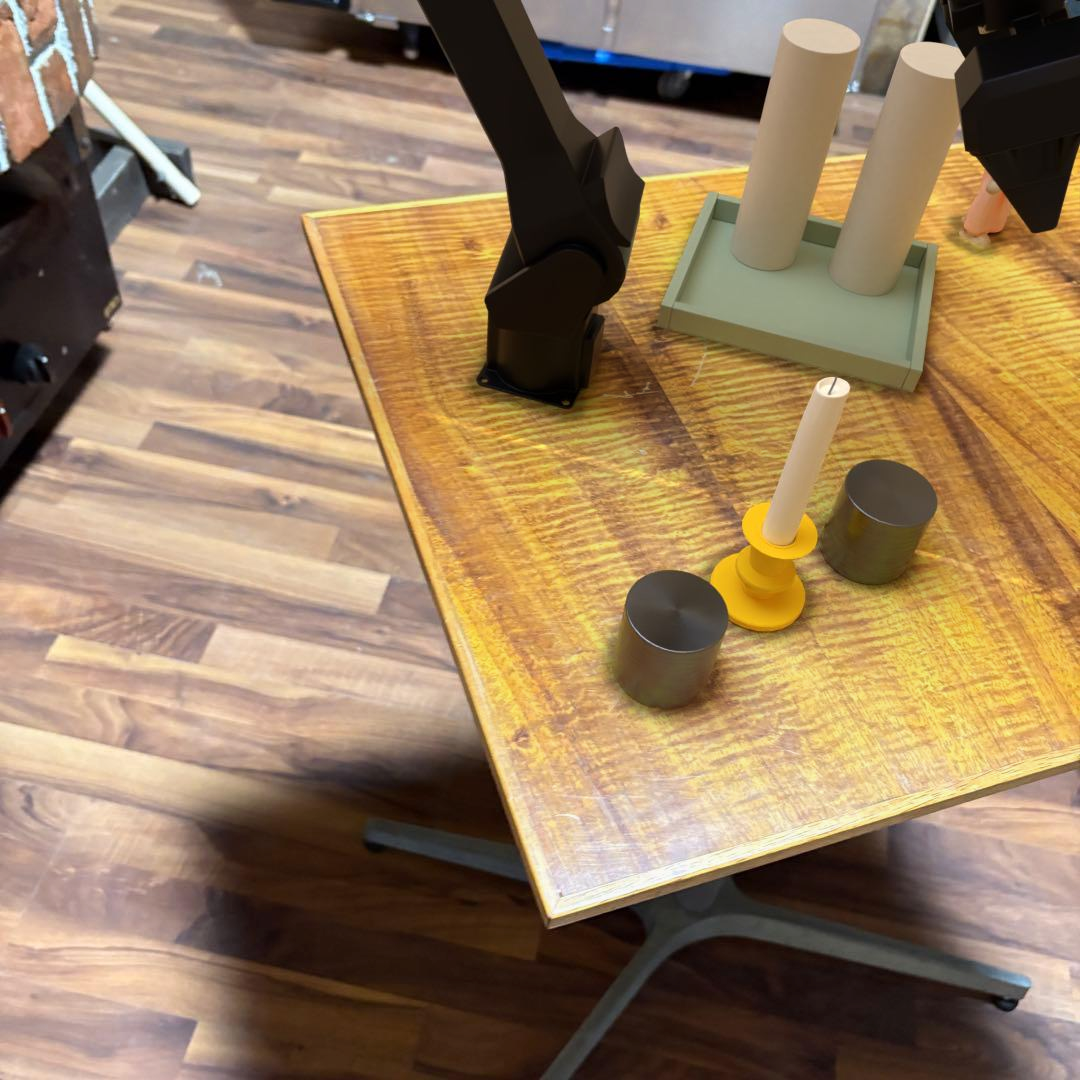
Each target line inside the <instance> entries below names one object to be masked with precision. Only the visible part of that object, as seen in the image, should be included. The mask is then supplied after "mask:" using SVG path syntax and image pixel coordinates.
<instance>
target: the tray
mask: <svg viewBox="0 0 1080 1080" xmlns="http://www.w3.org/2000/svg"><path fill="white" fill-rule="evenodd" d="M741 198H742V197H736V196H732V195H727V194H724V193H719V192H717V191H713V190H712V191H711V190H708V192H707V195H706V197H705V199H704V202H703V204H702V206H701V209H700V211H699V213H698V216H697V218H696V220H695V223H694V225H693V228H692V230H691V232H690V235H689V237H688V239H687V242H686V244H685V247H684V249H683V251H682V253H681V256H680V258H679V261H678V263H677V266H676V268H675V270H674V273H673V275H672V277H671V279H670V282H669V285H668V287H667V289H666V292H665V294H664V296H663V299H662V300H661V304H660V307H659V312H658V317H657V323H656V328H660V329H664V330H669V331H673V332H675V333H680V334H684V335H688V336H691V337H695V338H699V339H702V340H707V341H711V342H715V343H719V344H723V345H725V346H726V345H727V346H730V347H733V348H738V349H741V350H746V351H749V352H754V353H757V354H761V355H765V356H769V357H773V358H777V359H780V360H785V361H789V362H792V363H796V364H800V365H804V366H808V367H812V368H815V369H819V370H823V371H828V372H831V373H835V374H838V375H843V376H846V377H851V378H854V379H858V380H862V381H865V382H869V383H874V384H877V385H881V386H885V387H888V388H893V389H897V390H900V391H905V392H908V393H912V394H913V393H914V391H915V389H916V387H917V384H918V382H919V380H920V378H921V376H922V374H923V372H924V371H923V370H924V363H925V355H926V348H927V347H926V346H927V340H928V332H929V331H928V330H929V324H930V315H931V310H932V309H931V307H932V299H933V292H934V283H935V278H936V277H935V276H936V269H937V260H938V254H939V253H938V252H939V245H938V244H936V243H931V242H927V241H922V240H919V239H915V238H914V239H913V242H912V244H911V247H910V249H909V252H908V254H907V257H906V259H905V262H904V264H903V267H902V269H901V272H900V274H899V277H898V279H897V282H896V285H895V287H894V288H893V289H892V290H891V291H890V292H888V293H886V294H883V295H879V296H865V295H859V294H855V293H852V292H850V291H847V290H845V289H843V288H842V287H840V286H839V285H837V284H836V283H835V282H834V281H833V280H832V278H831V277H830V275H829V271H828V269H829V265H830V262H831V259H832V256H833V253H834V250H835V247H836V244H837V241H838V238H839V235H840V232H841V229H842V226H843V223H844V221H843V222H842V221H839V220H834V219H830V218H825V217H821V216H818V215H812V214H809V217H808V220H807V223H806V227H805V230H804V233H803V236H802V240H801V243H800V246H799V250H798V253H797V256H796V259H795V261H794V263H793V264H792V265H791V266H789V267H787V268H785V269H782V270H777V271H765V270H759V269H755V268H752V267H749V266H747V265H745V264H743V263H741V262H740V261H738V260H737V259H736V258H735V257H734V256H733V254H732V252H731V249H730V244H731V240H732V236H733V231H734V227H735V223H736V219H737V215H738V211H739V207H740V203H741Z"/></svg>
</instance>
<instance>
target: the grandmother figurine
mask: <svg viewBox="0 0 1080 1080" xmlns="http://www.w3.org/2000/svg"><path fill="white" fill-rule="evenodd" d="M1011 207H1012V205H1011V203H1010V202H1009V200H1008V199H1007V198H1006V196H1005V195H1004V193H1003V192H1002V191H1001V190H1000V188H999V187H998V185H997V184H996V183H995V181H994V180H993V179H992V177H991V176H990V175H989V173H988V172H987V171H986V170H985V169H984V170H983V173H982V176H981V181H980V186H979V192H978V194H977V195H976V197H975V198H974V199H973V200H972V202H971V204H970V206H969V208H968V210H967V212H966V214H965V215H964V216H962V217H961V219H960V220H961V222H962V223H964V224H963V228H964V229H961V230H959V231H958V234H959V236H960V237H961V238H963V239H965V240H966V241H969V242H971V243H972V244H974V245H977V246H980V247H987V246H989V245H991V243H992V241H991V237H990V236H989V235H988V234H989V233H998V232H1001V231H1002V230H1003V229H1004V228H1005V225H1006V222H1007V219H1008V216H1009V213H1010V210H1011Z"/></svg>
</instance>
